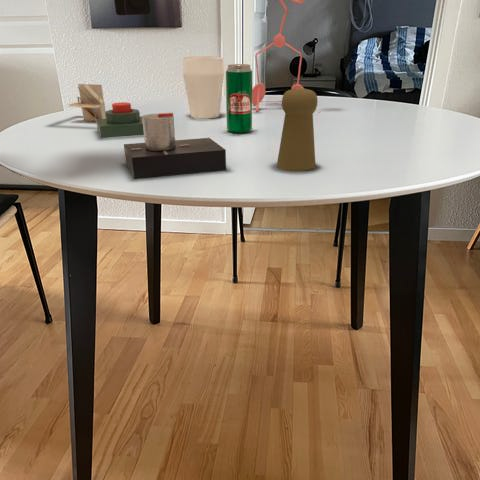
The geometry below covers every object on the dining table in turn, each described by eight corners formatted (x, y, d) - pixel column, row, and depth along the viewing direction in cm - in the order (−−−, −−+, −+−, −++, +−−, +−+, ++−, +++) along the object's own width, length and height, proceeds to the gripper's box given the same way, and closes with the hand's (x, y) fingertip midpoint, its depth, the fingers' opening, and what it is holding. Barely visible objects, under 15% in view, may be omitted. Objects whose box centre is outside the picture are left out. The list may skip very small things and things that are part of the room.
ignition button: (114, 115, 96) (112, 105, 95) (112, 112, 99) (110, 102, 98) (132, 114, 97) (131, 104, 96) (130, 111, 100) (129, 101, 99)
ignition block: (101, 138, 96) (98, 116, 93) (97, 130, 102) (94, 109, 100) (152, 134, 98) (150, 113, 96) (146, 127, 105) (144, 106, 103)
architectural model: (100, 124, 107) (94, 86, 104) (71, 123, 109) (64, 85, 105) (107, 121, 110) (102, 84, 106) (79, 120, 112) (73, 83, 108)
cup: (210, 111, 121) (208, 55, 114) (232, 117, 114) (231, 58, 108) (178, 115, 116) (174, 57, 110) (199, 121, 110) (196, 60, 103)
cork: (323, 167, 77) (329, 89, 71) (291, 173, 74) (295, 93, 69) (300, 159, 81) (304, 85, 76) (269, 164, 79) (271, 88, 73)
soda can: (226, 134, 98) (225, 66, 92) (226, 129, 102) (225, 63, 96) (252, 134, 98) (253, 66, 92) (251, 128, 103) (251, 63, 96)
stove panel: (134, 178, 72) (131, 156, 71) (126, 163, 80) (123, 143, 78) (226, 170, 76) (225, 148, 74) (210, 156, 83) (209, 136, 82)
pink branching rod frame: (329, 115, 116) (345, -76, 97) (223, 111, 121) (219, -71, 103) (335, 104, 128) (350, -66, 110) (238, 101, 134) (237, -62, 115)
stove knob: (148, 152, 73) (144, 117, 71) (143, 145, 77) (139, 112, 74) (178, 149, 74) (176, 115, 72) (172, 143, 78) (169, 110, 76)
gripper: (75, -133, 67) (99, 15, 76) (86, -173, 53) (113, 15, 62) (131, -131, 69) (147, 14, 78) (156, -168, 55) (172, 13, 64)
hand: (132, 14), depth 70 cm, fingers open, 9 cm apart
